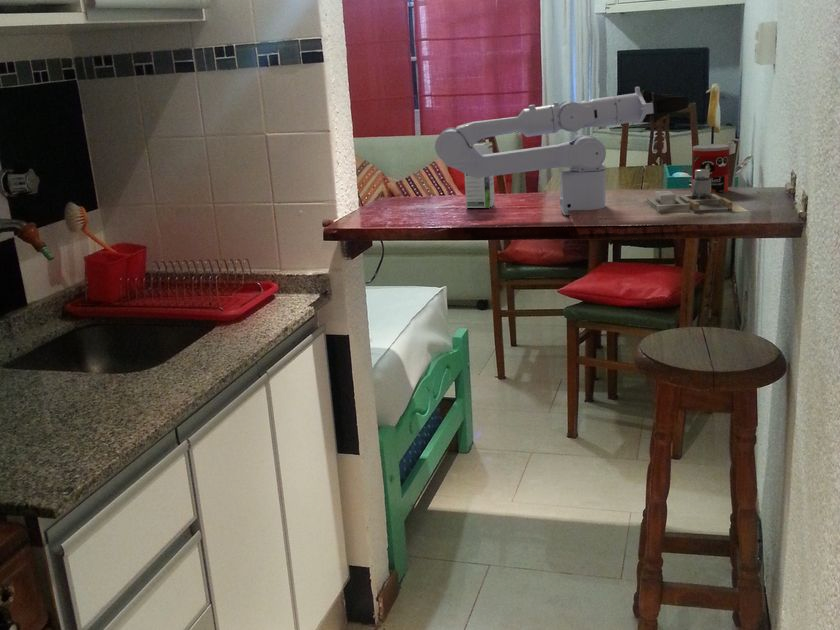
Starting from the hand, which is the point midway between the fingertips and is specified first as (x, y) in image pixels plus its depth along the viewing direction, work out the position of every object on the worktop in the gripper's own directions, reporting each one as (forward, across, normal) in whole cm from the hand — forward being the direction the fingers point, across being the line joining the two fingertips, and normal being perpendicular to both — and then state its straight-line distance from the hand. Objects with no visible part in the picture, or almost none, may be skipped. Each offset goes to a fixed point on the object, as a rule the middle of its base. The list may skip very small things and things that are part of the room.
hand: (683, 101), depth 166 cm
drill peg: (+2, -4, +21) cm, 21 cm away
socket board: (0, -5, +22) cm, 22 cm away
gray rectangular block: (-5, -2, +20) cm, 21 cm away
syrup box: (-44, +13, +19) cm, 49 cm away
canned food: (+7, +12, +22) cm, 26 cm away
